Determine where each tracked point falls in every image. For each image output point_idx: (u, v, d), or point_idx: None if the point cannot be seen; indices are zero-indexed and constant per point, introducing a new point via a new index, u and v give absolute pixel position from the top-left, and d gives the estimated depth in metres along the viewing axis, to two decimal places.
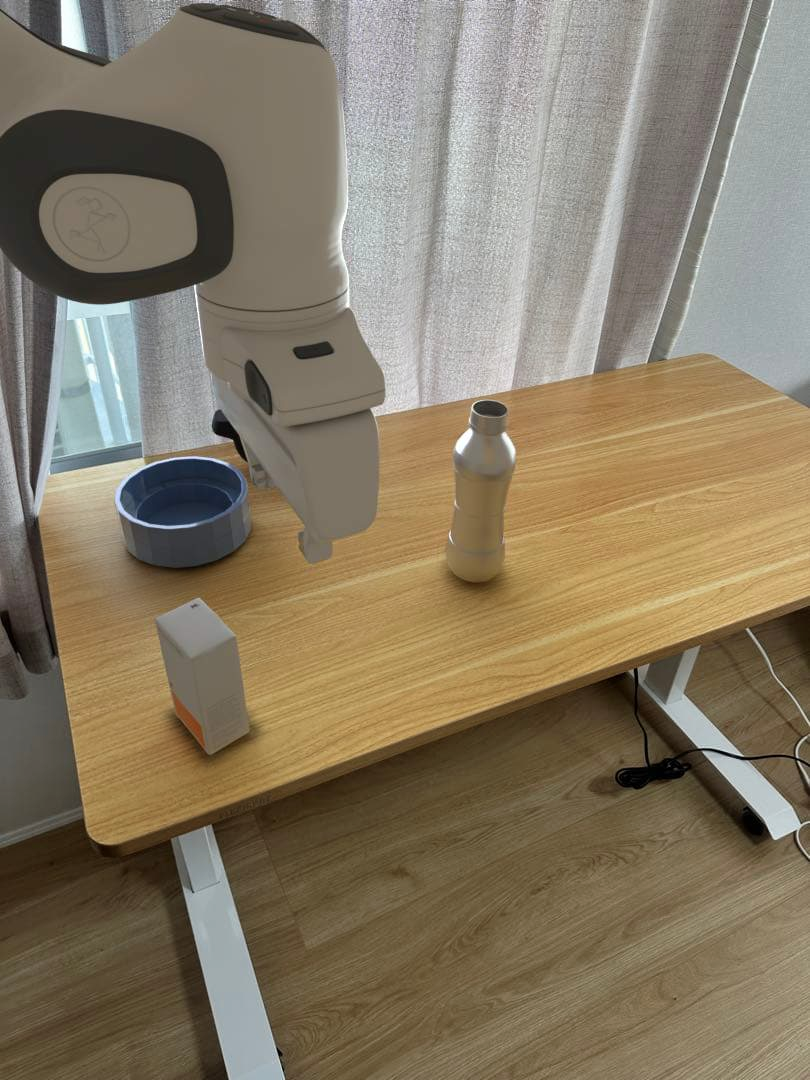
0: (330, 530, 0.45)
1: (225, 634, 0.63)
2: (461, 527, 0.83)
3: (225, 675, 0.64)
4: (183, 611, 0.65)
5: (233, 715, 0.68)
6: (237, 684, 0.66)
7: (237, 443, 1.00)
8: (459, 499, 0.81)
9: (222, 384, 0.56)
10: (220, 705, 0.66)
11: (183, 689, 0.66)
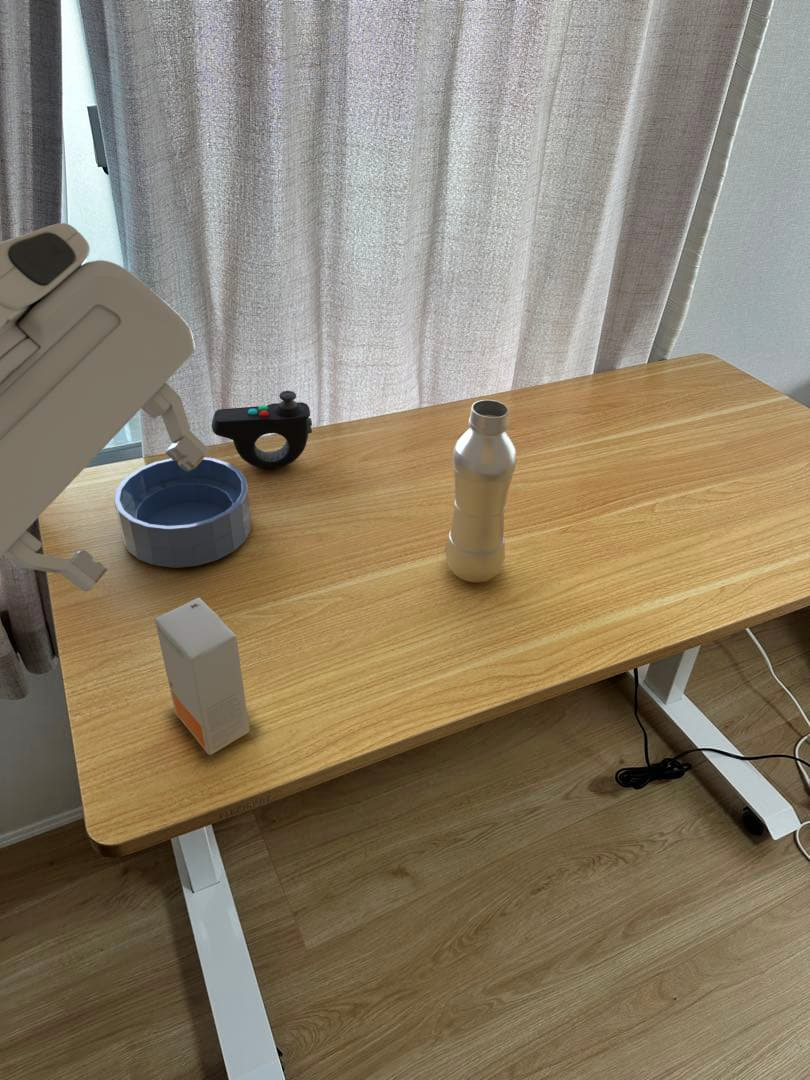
0: None
1: (225, 634, 0.63)
2: (461, 527, 0.83)
3: (225, 675, 0.64)
4: (183, 611, 0.65)
5: (233, 715, 0.68)
6: (237, 684, 0.66)
7: (237, 443, 1.00)
8: (459, 499, 0.81)
9: None
10: (220, 705, 0.66)
11: (183, 689, 0.66)
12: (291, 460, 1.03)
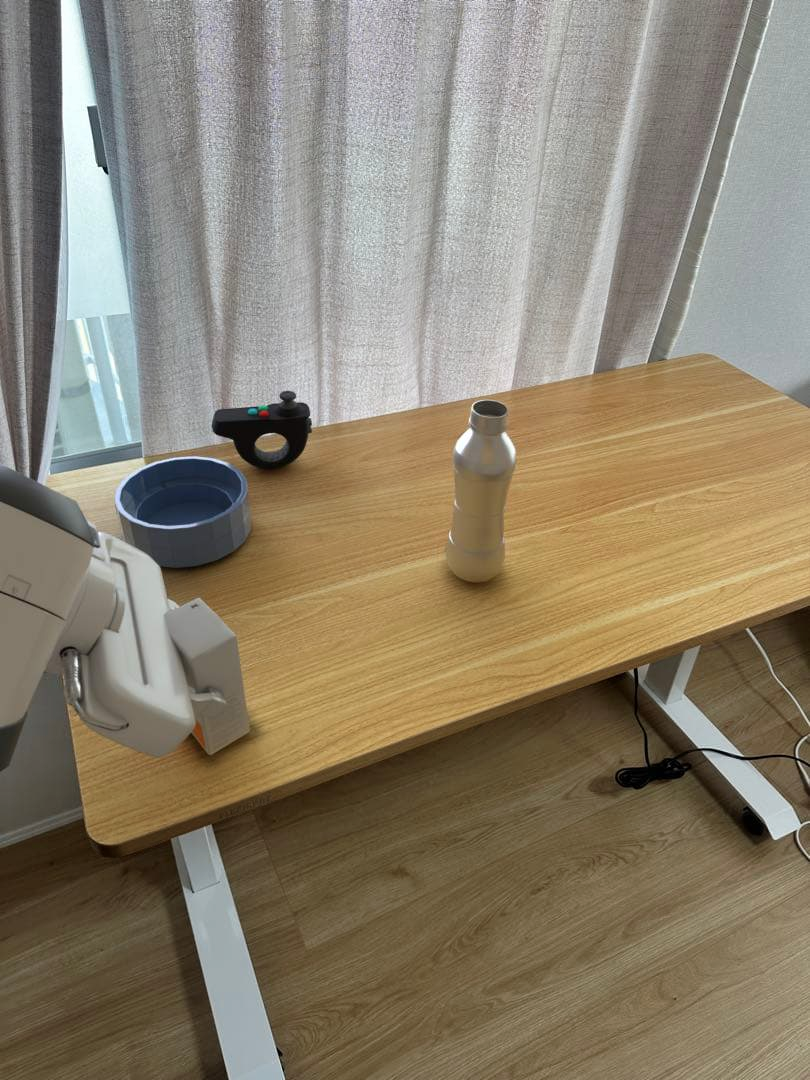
0: None
1: (225, 634, 0.63)
2: (461, 527, 0.83)
3: (225, 675, 0.64)
4: (183, 611, 0.65)
5: (234, 715, 0.68)
6: (237, 684, 0.66)
7: (237, 443, 1.00)
8: (459, 499, 0.81)
9: (158, 684, 0.57)
10: None
11: None
12: (291, 460, 1.03)
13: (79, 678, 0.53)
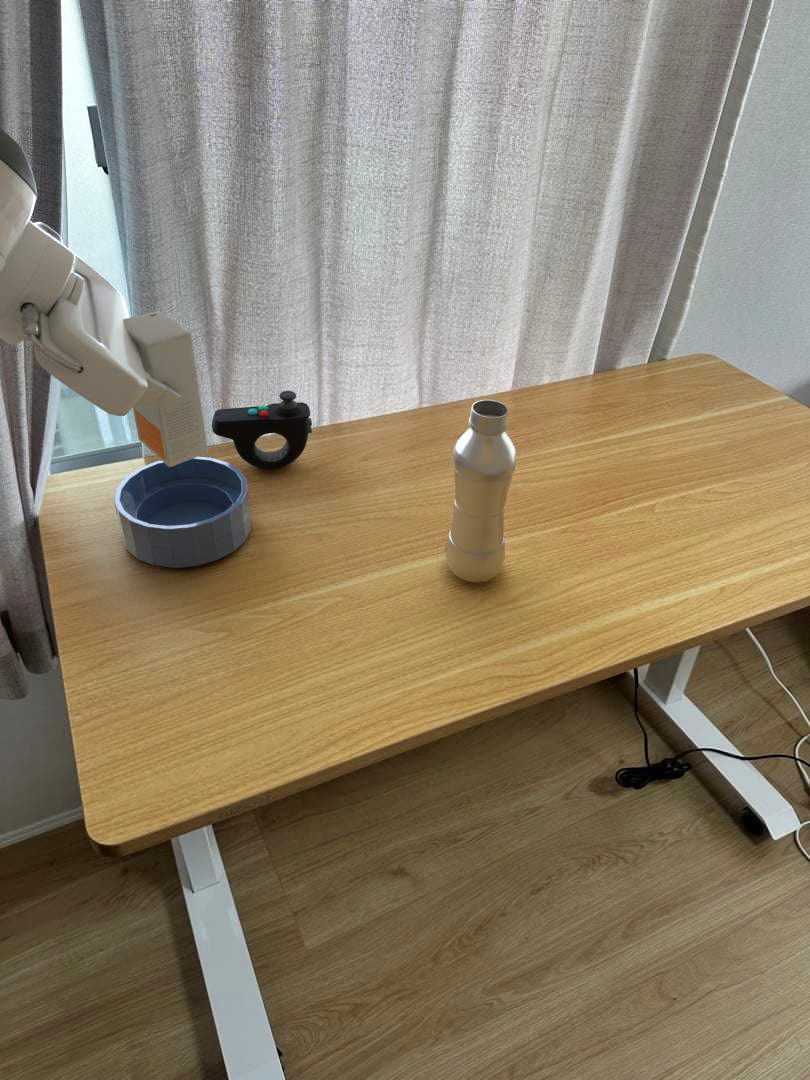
0: None
1: (180, 331, 0.67)
2: (461, 527, 0.83)
3: (181, 375, 0.69)
4: (142, 317, 0.69)
5: (191, 426, 0.72)
6: (194, 390, 0.70)
7: (237, 443, 1.00)
8: (459, 499, 0.81)
9: (113, 348, 0.61)
10: (178, 410, 0.70)
11: None
12: (291, 460, 1.03)
13: (37, 323, 0.58)
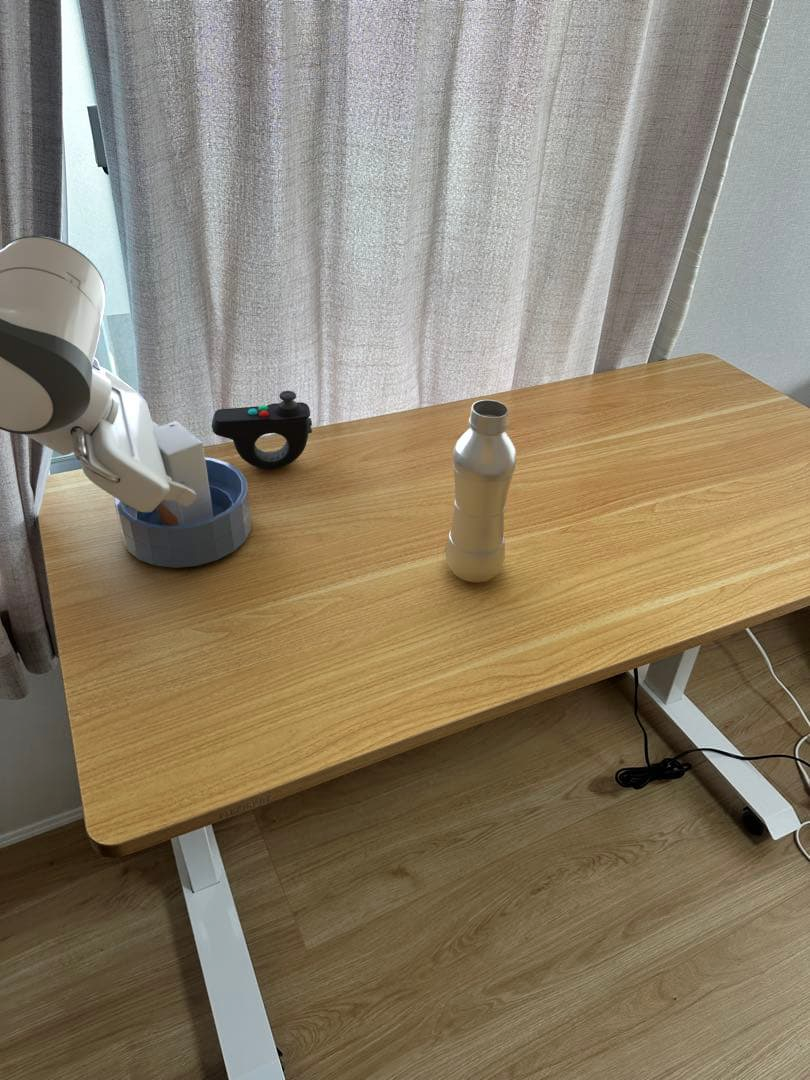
0: None
1: (194, 441, 0.84)
2: (461, 527, 0.83)
3: (195, 475, 0.86)
4: (163, 428, 0.86)
5: (202, 513, 0.89)
6: (204, 486, 0.87)
7: (237, 443, 1.00)
8: (459, 499, 0.81)
9: (142, 459, 0.78)
10: None
11: None
12: (291, 460, 1.03)
13: (84, 444, 0.74)
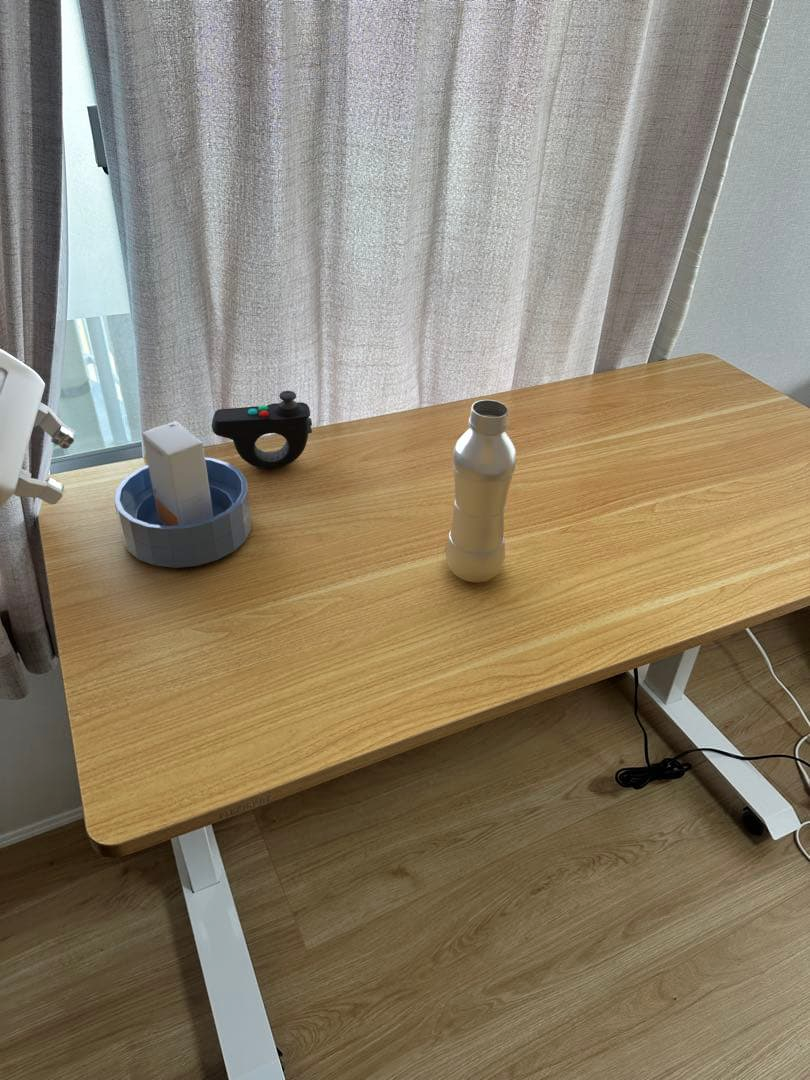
0: None
1: (194, 441, 0.84)
2: (461, 527, 0.83)
3: (195, 475, 0.86)
4: (163, 428, 0.86)
5: (202, 513, 0.89)
6: (204, 486, 0.87)
7: (237, 443, 1.00)
8: (459, 499, 0.81)
9: None
10: (191, 501, 0.87)
11: (163, 489, 0.87)
12: (291, 460, 1.03)
13: None
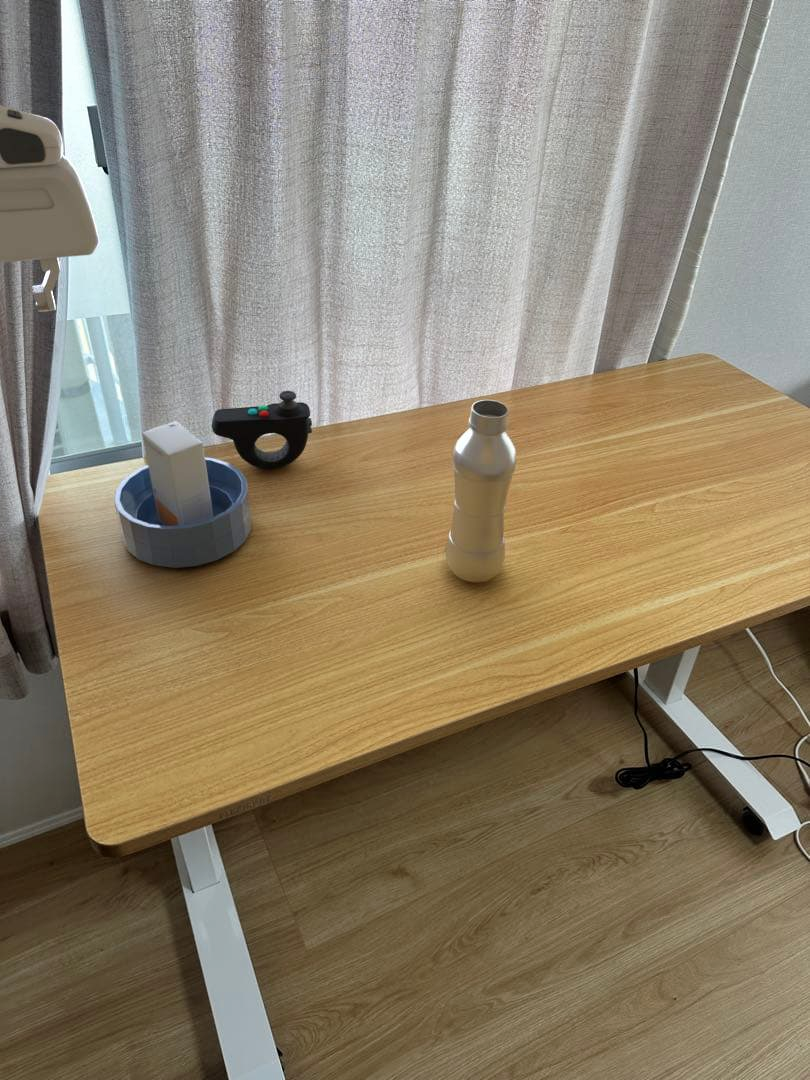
0: None
1: (194, 441, 0.84)
2: (461, 527, 0.83)
3: (195, 475, 0.86)
4: (163, 428, 0.86)
5: (202, 513, 0.89)
6: (204, 486, 0.87)
7: (237, 443, 1.00)
8: (459, 499, 0.81)
9: None
10: (191, 501, 0.87)
11: (163, 489, 0.87)
12: (291, 460, 1.03)
13: None
